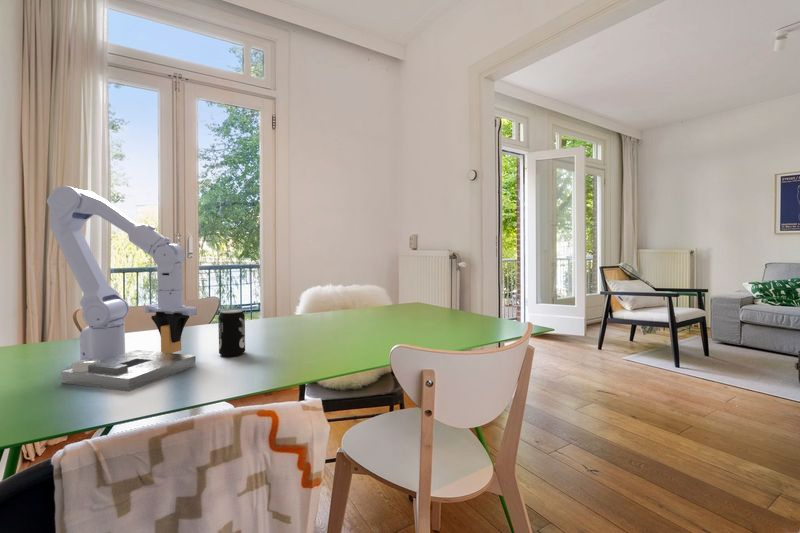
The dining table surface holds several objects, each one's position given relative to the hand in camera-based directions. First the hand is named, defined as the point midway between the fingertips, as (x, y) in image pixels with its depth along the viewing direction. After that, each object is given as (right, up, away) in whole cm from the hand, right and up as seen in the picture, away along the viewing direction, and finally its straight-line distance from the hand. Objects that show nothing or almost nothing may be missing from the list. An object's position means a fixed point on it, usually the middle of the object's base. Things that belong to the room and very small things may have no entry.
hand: (171, 341), depth 104 cm
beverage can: (+14, -4, +4) cm, 16 cm away
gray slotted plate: (-1, -5, -13) cm, 14 cm away
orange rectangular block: (0, -3, 0) cm, 3 cm away
